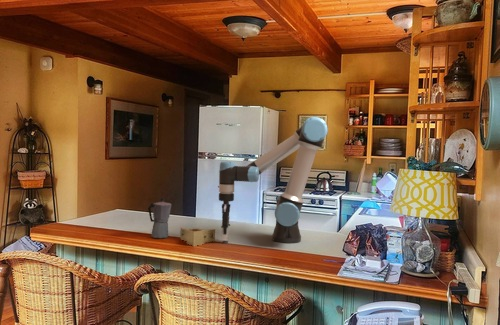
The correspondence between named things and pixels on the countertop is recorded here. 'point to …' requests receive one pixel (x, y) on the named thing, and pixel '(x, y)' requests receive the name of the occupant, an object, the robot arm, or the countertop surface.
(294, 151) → the robot arm
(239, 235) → the countertop surface
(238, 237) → the countertop surface
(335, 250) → the countertop surface
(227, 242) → the pin
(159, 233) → the moka pot
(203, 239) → the wooden box
